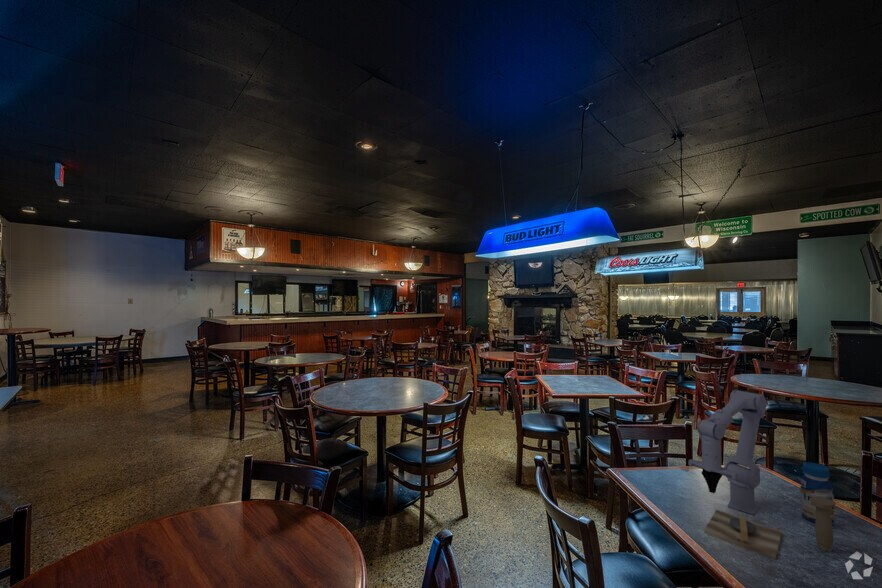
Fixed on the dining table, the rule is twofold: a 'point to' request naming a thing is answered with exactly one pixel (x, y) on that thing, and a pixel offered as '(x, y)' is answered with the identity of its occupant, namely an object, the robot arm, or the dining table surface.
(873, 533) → the dining table surface
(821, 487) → the beverage bottle
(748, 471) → the robot arm
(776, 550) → the post board
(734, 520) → the lever with round base
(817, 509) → the handle
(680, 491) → the dining table surface
